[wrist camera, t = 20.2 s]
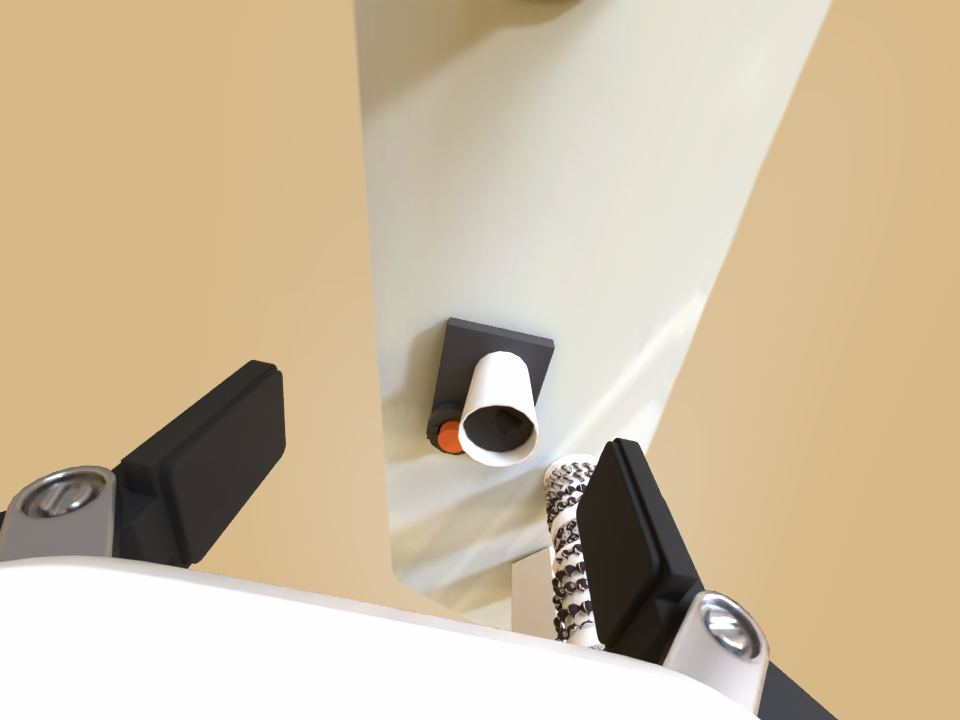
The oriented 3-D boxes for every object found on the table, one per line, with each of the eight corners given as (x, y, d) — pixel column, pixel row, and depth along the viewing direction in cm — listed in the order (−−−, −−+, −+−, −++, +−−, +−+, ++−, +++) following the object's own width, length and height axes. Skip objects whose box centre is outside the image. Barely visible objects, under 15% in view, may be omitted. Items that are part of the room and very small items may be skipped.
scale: (449, 316, 40) (444, 330, 37) (553, 339, 40) (556, 354, 37) (429, 429, 47) (423, 448, 44) (517, 448, 47) (517, 468, 44)
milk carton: (539, 586, 59) (550, 754, 43) (511, 562, 57) (510, 729, 40) (578, 570, 57) (606, 742, 40) (549, 544, 55) (566, 714, 38)
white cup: (498, 334, 38) (493, 387, 29) (546, 374, 40) (556, 435, 31) (456, 377, 41) (441, 437, 32) (503, 412, 42) (501, 479, 34)
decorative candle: (555, 443, 46) (594, 702, 24) (627, 462, 47) (729, 733, 25) (530, 494, 50) (544, 755, 28) (596, 511, 51) (660, 780, 29)
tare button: (442, 416, 42) (440, 426, 40) (471, 423, 42) (469, 433, 40) (438, 439, 43) (435, 449, 42) (466, 445, 43) (464, 455, 42)
